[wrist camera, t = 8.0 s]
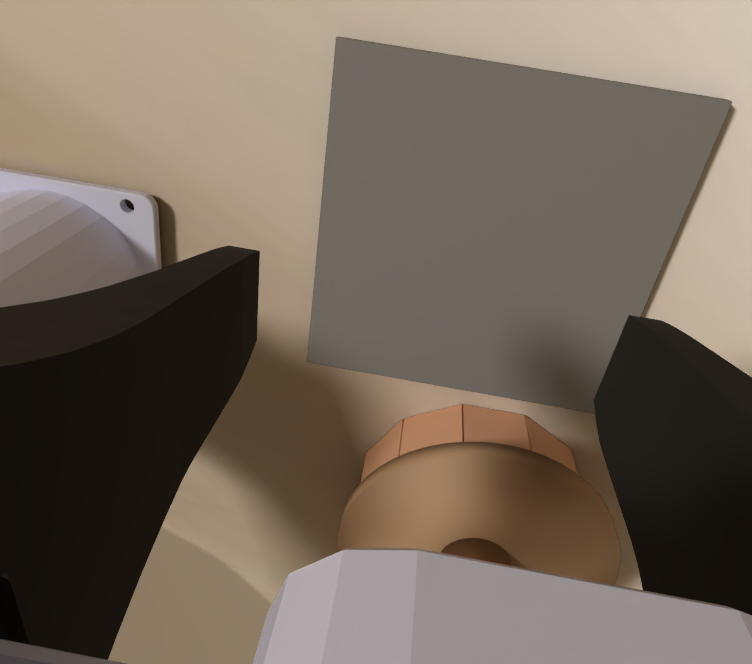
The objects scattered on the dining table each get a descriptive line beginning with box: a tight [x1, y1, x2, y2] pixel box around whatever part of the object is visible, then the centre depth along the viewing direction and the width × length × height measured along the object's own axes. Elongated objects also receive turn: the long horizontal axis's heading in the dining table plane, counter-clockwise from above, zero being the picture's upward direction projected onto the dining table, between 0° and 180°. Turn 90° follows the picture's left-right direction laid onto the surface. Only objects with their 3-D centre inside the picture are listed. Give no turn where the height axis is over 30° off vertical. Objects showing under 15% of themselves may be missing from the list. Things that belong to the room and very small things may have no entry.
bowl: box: [360, 404, 578, 483], centre depth 25 cm, size 10×10×4 cm
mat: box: [307, 37, 732, 413], centre depth 21 cm, size 12×12×1 cm
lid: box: [337, 442, 621, 585], centre depth 22 cm, size 11×11×4 cm
